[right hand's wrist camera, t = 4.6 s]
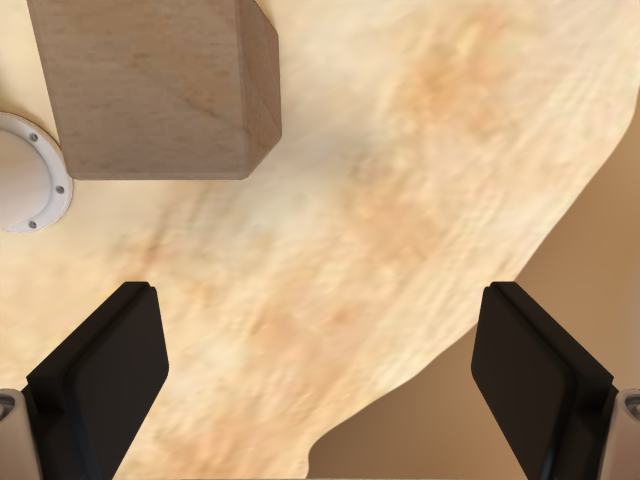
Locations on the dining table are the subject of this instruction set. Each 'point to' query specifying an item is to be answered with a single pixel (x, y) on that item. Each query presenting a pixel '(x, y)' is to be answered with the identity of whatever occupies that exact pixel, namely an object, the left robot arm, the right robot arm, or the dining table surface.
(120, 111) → the wooden block
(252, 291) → the dining table surface
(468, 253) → the dining table surface
